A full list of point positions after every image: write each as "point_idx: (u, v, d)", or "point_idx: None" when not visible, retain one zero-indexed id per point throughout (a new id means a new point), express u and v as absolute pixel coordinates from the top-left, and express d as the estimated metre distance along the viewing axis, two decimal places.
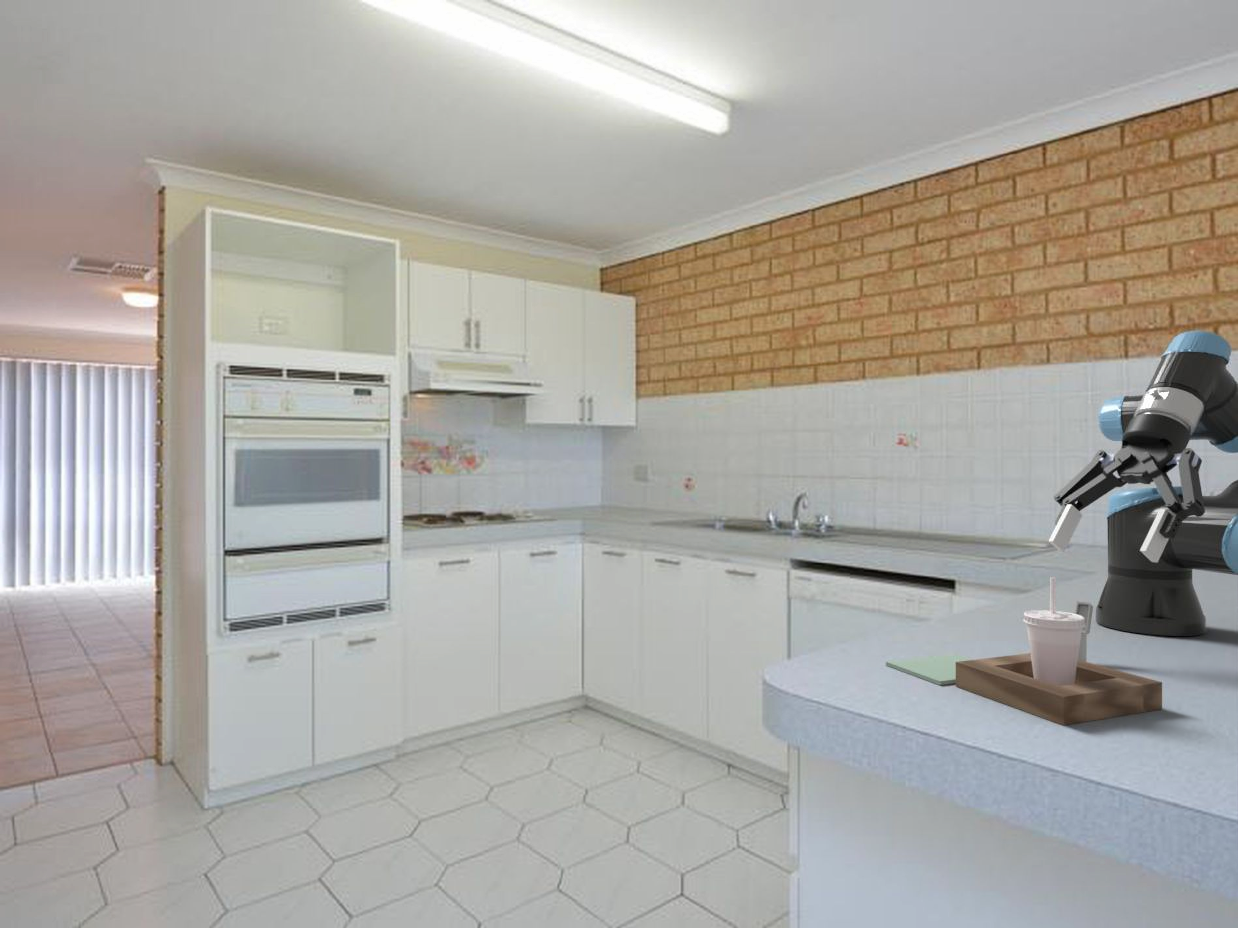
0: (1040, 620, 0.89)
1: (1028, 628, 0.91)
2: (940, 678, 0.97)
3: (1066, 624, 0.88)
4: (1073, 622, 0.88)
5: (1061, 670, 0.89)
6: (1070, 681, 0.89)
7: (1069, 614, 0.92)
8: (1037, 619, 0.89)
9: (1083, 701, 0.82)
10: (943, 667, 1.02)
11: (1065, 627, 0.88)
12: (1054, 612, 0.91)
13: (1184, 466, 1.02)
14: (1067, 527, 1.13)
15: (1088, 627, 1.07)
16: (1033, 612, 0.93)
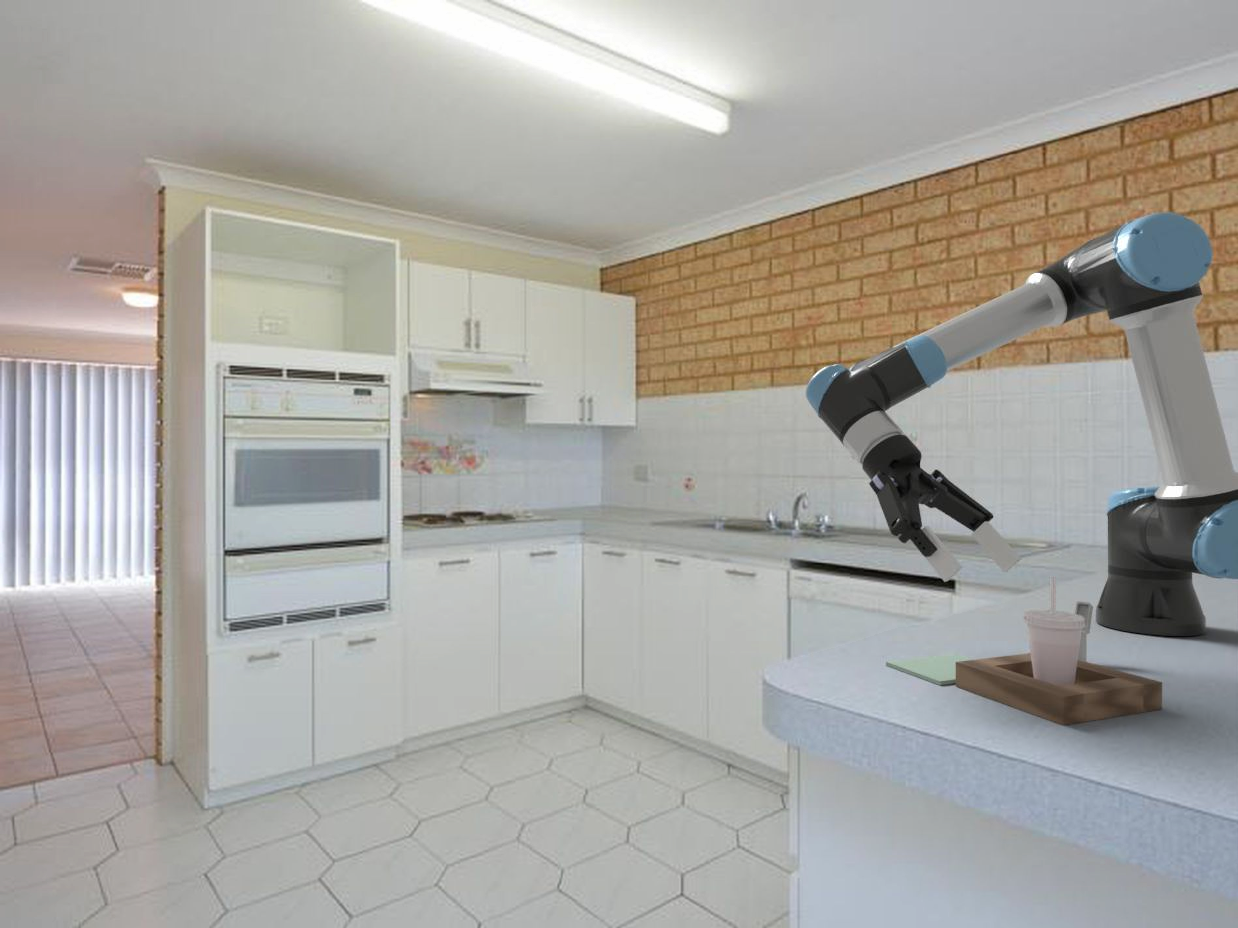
0: (1040, 620, 0.89)
1: (1028, 628, 0.91)
2: (940, 678, 0.97)
3: (1066, 624, 0.88)
4: (1073, 622, 0.88)
5: (1061, 670, 0.89)
6: (1070, 681, 0.89)
7: (1069, 614, 0.92)
8: (1037, 619, 0.89)
9: (1083, 701, 0.82)
10: (943, 667, 1.02)
11: (1065, 627, 0.88)
12: (1054, 612, 0.91)
13: None
14: (993, 547, 1.03)
15: (1088, 627, 1.07)
16: (1033, 612, 0.93)
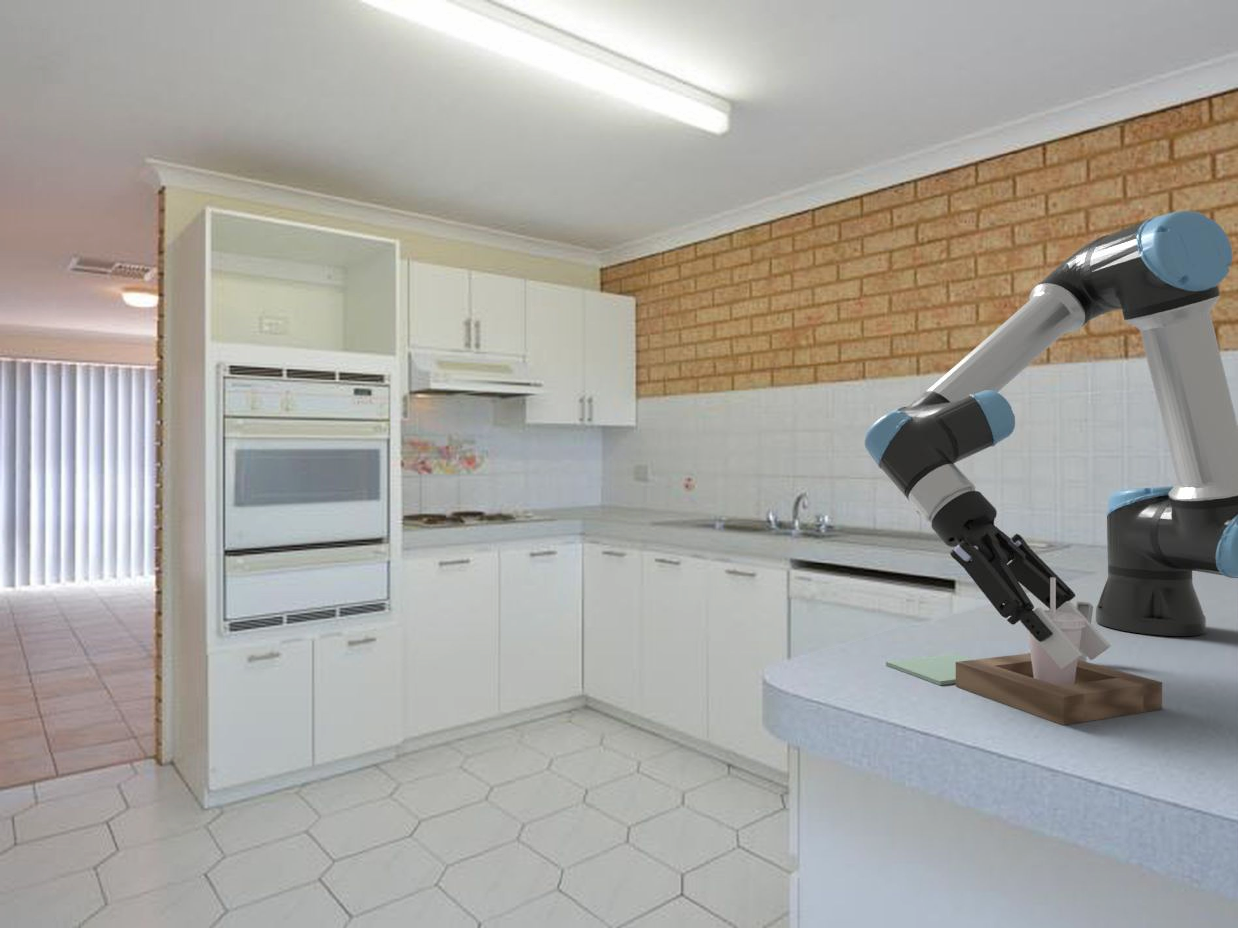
0: None
1: None
2: (940, 678, 0.97)
3: (1066, 623, 0.88)
4: (1073, 622, 0.88)
5: (1061, 670, 0.89)
6: (1070, 681, 0.89)
7: (1069, 614, 0.92)
8: None
9: (1083, 701, 0.82)
10: (943, 667, 1.02)
11: (1065, 627, 0.88)
12: (1054, 612, 0.91)
13: None
14: None
15: None
16: None
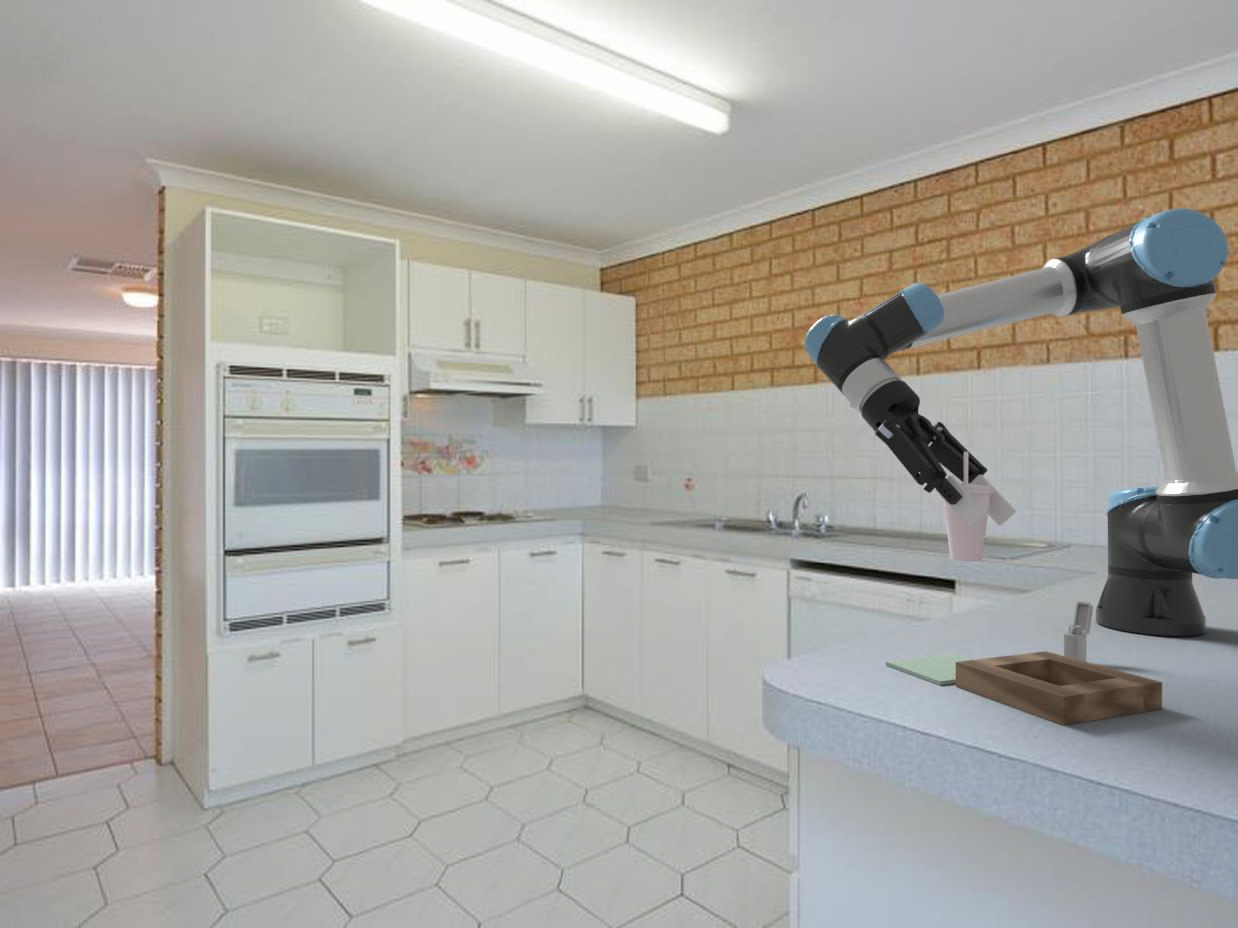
0: None
1: None
2: (940, 678, 0.97)
3: (975, 489, 0.97)
4: (981, 487, 0.97)
5: (971, 532, 0.98)
6: (979, 542, 0.98)
7: None
8: None
9: (1083, 701, 0.82)
10: (943, 667, 1.02)
11: (974, 492, 0.97)
12: (967, 483, 1.00)
13: None
14: None
15: (1088, 627, 1.07)
16: None
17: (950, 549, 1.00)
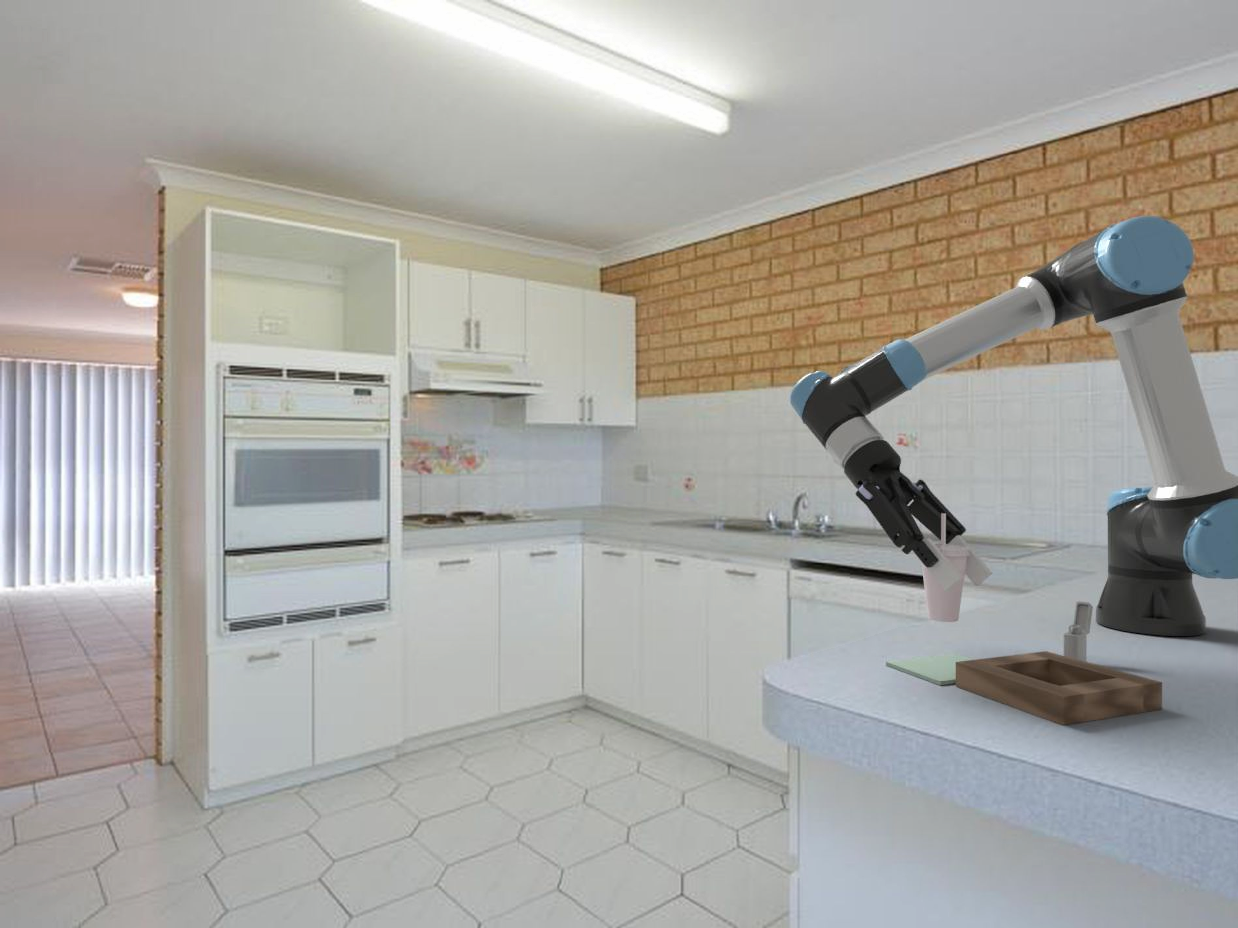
0: None
1: None
2: (940, 678, 0.97)
3: (951, 552, 1.00)
4: (957, 550, 1.00)
5: (948, 593, 1.00)
6: (955, 603, 1.01)
7: (958, 546, 1.03)
8: None
9: (1083, 701, 0.82)
10: (943, 667, 1.02)
11: (950, 555, 1.00)
12: (944, 544, 1.03)
13: None
14: None
15: (1088, 627, 1.07)
16: None
17: (928, 609, 1.03)
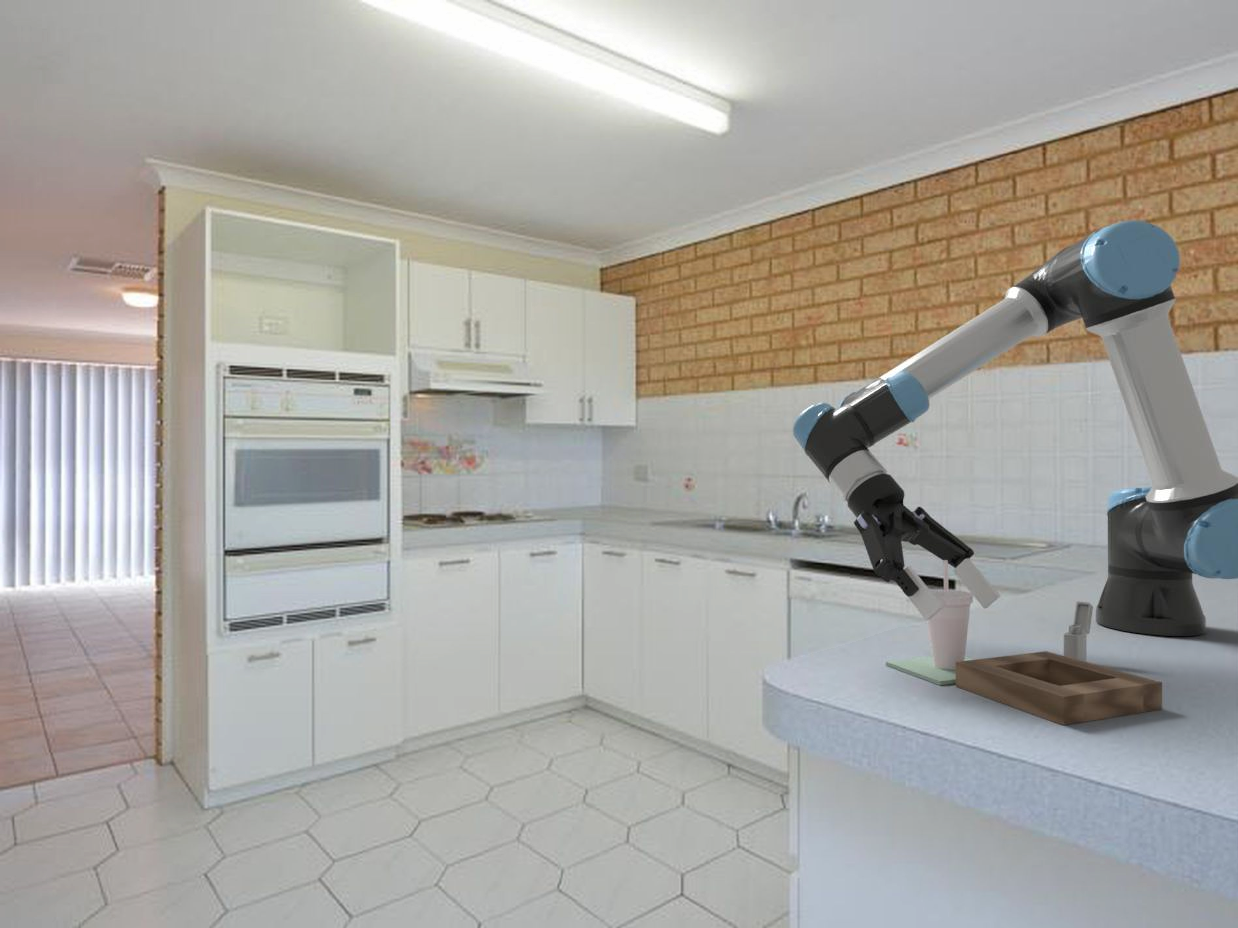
0: None
1: None
2: (940, 678, 0.97)
3: (954, 600, 1.00)
4: (960, 599, 1.00)
5: (952, 642, 1.00)
6: (960, 651, 1.01)
7: (961, 592, 1.03)
8: None
9: (1083, 701, 0.82)
10: None
11: (953, 603, 0.99)
12: (947, 591, 1.03)
13: None
14: (973, 583, 1.06)
15: (1088, 627, 1.07)
16: None
17: (933, 656, 1.03)
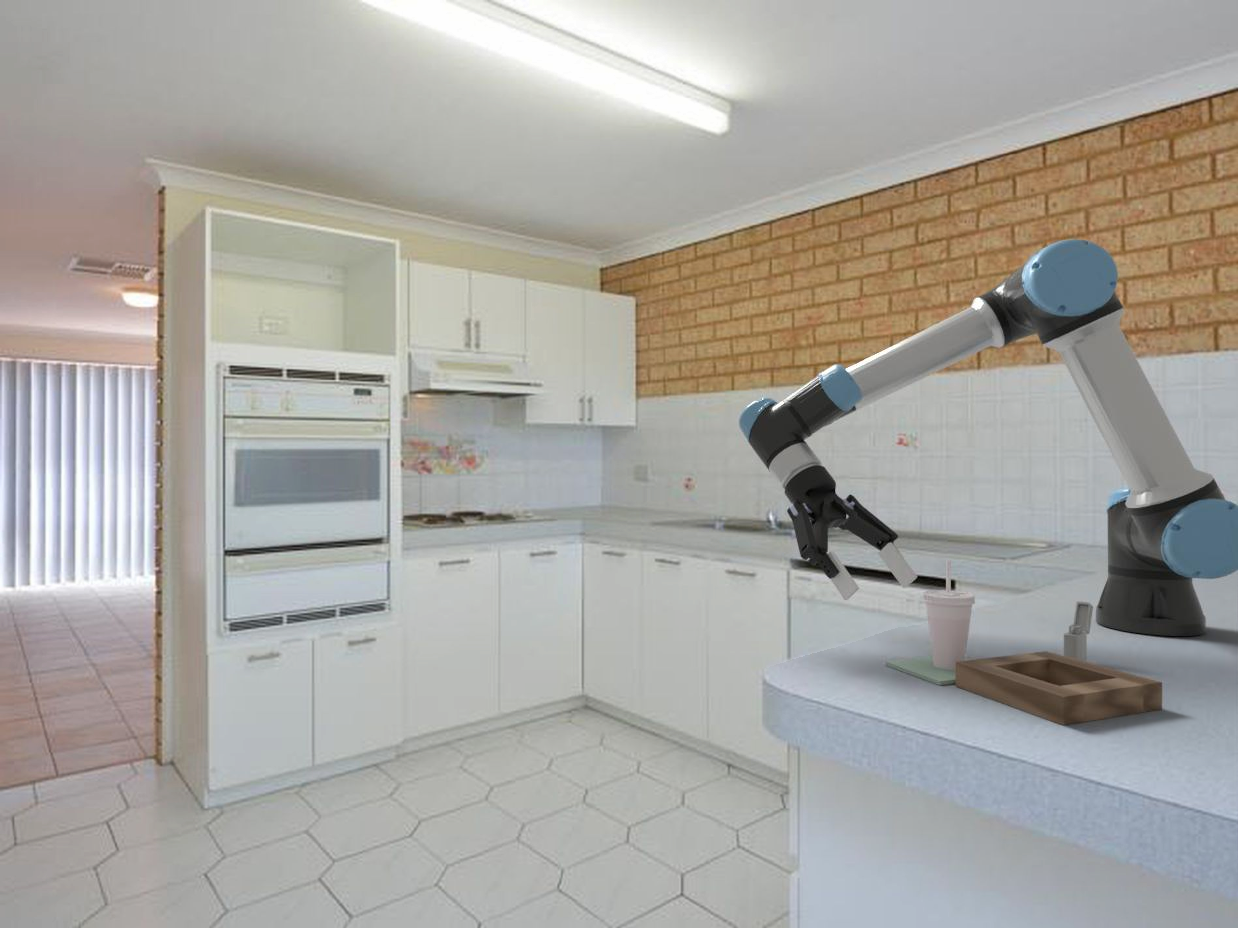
0: (935, 598, 1.01)
1: (926, 605, 1.03)
2: (940, 678, 0.97)
3: (956, 600, 1.00)
4: (962, 599, 1.00)
5: (953, 642, 1.00)
6: (961, 652, 1.01)
7: (963, 593, 1.03)
8: (932, 597, 1.01)
9: (1083, 701, 0.82)
10: None
11: (955, 603, 1.00)
12: (949, 591, 1.03)
13: None
14: (895, 565, 1.17)
15: (1088, 627, 1.07)
16: (932, 591, 1.04)
17: (933, 656, 1.03)
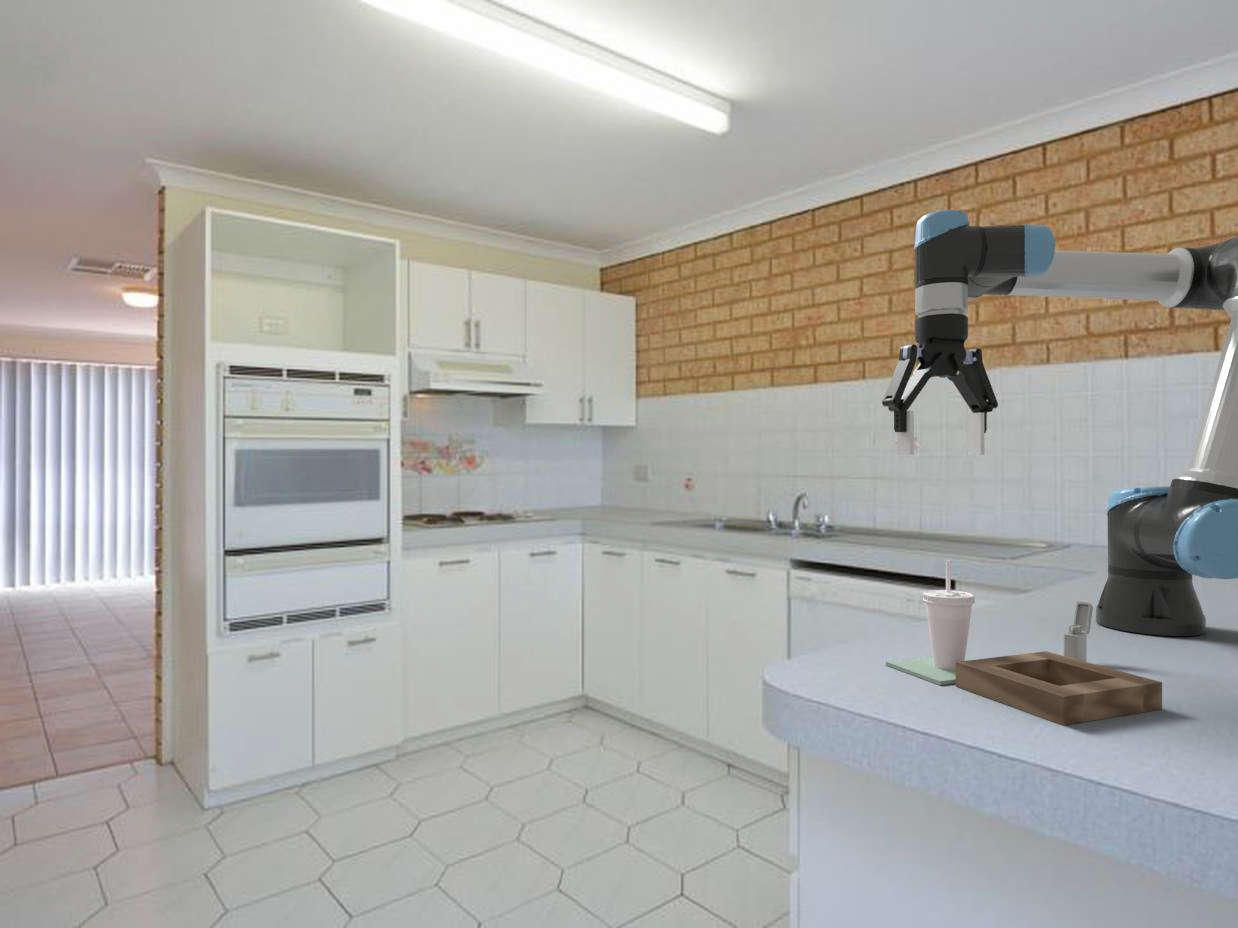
0: (934, 598, 1.01)
1: (926, 605, 1.03)
2: (940, 678, 0.97)
3: (956, 600, 1.00)
4: (962, 599, 1.00)
5: (953, 642, 1.00)
6: (961, 652, 1.01)
7: (962, 593, 1.03)
8: (932, 597, 1.01)
9: (1083, 701, 0.82)
10: None
11: (955, 604, 1.00)
12: (949, 591, 1.03)
13: None
14: (973, 433, 1.21)
15: (1088, 627, 1.07)
16: (932, 591, 1.04)
17: (933, 656, 1.03)
